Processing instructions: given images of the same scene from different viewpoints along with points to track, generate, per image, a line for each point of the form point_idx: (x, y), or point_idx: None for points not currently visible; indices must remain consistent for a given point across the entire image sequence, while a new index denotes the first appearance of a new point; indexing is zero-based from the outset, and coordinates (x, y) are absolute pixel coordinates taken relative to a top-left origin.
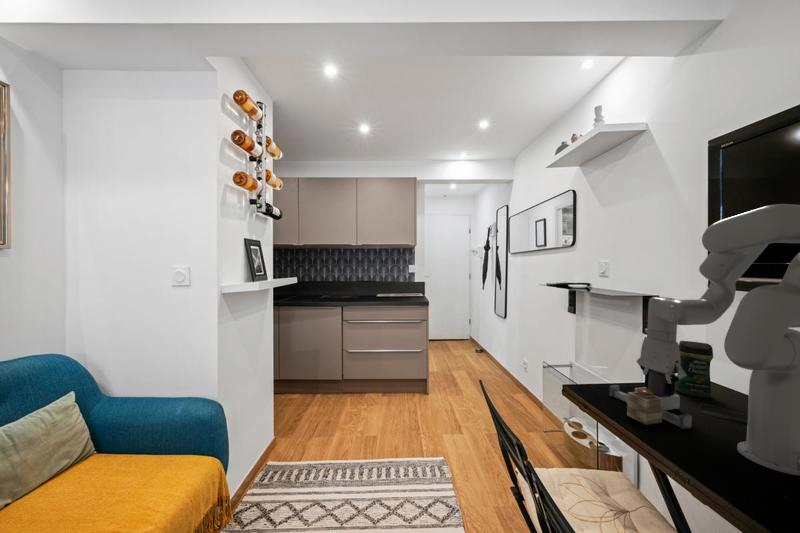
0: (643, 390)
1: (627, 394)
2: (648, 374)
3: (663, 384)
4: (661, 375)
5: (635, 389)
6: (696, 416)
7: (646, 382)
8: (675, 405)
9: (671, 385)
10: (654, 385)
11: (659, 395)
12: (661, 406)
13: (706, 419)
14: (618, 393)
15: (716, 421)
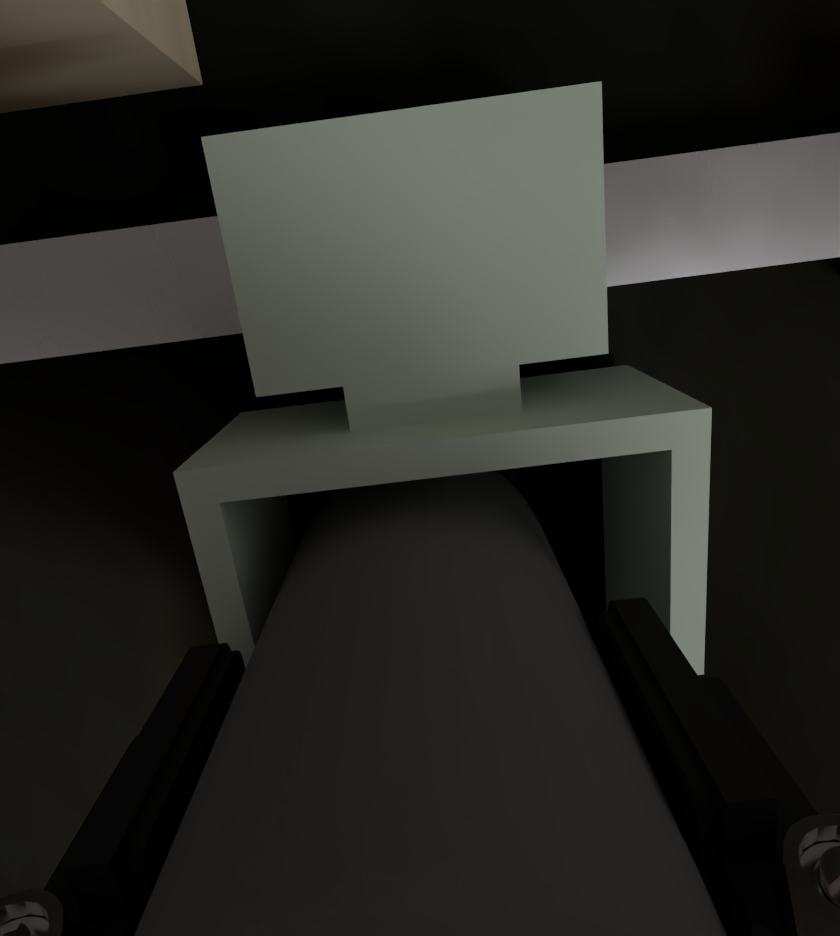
0: None
1: (596, 98)
2: (747, 903)
3: (196, 790)
4: None
5: (685, 403)
6: (131, 731)
7: (644, 662)
8: None
9: (52, 884)
10: (353, 631)
11: (298, 573)
12: None
13: (62, 763)
14: (812, 139)
15: (22, 811)
